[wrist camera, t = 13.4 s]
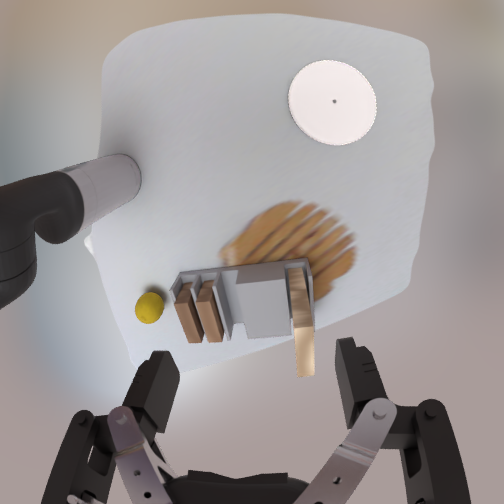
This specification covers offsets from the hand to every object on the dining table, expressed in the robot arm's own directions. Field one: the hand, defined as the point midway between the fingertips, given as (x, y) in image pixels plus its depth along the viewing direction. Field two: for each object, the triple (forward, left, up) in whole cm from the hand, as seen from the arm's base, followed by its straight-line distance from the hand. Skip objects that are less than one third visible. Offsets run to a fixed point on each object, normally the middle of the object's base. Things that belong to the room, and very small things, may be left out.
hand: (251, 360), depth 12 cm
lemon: (-25, -18, -36) cm, 47 cm away
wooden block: (+3, -19, -34) cm, 39 cm away
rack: (-6, -19, -35) cm, 40 cm away
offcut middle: (-12, -19, -34) cm, 40 cm away
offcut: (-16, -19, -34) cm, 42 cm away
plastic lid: (+13, +14, -36) cm, 40 cm away
